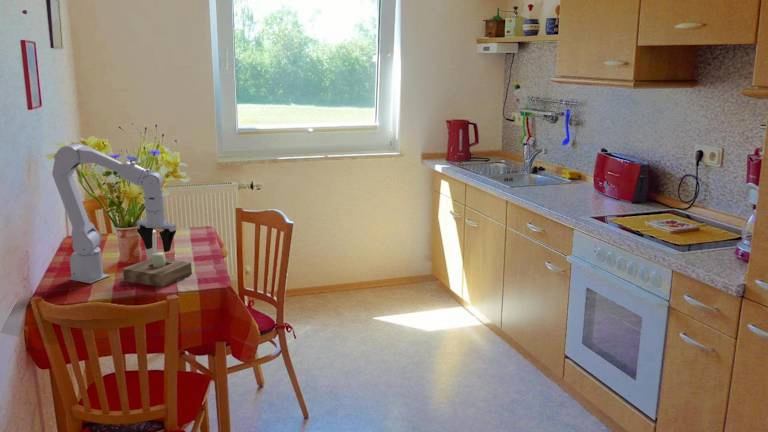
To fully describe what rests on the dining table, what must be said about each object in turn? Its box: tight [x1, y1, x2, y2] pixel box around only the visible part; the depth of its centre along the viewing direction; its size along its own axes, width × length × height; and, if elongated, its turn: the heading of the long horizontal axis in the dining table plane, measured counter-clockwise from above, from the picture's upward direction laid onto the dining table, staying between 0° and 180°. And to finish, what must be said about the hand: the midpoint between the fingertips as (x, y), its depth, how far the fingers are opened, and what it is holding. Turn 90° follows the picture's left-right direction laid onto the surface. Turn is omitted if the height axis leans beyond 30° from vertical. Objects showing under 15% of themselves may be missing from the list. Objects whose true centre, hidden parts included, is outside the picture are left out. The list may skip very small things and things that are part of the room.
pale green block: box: [152, 251, 166, 268], centre depth 210 cm, size 4×4×6 cm
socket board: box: [122, 258, 193, 288], centre depth 210 cm, size 16×14×4 cm
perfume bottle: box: [144, 229, 158, 260], centre depth 221 cm, size 5×4×15 cm
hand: (158, 249), depth 209 cm, fingers open, 7 cm apart
